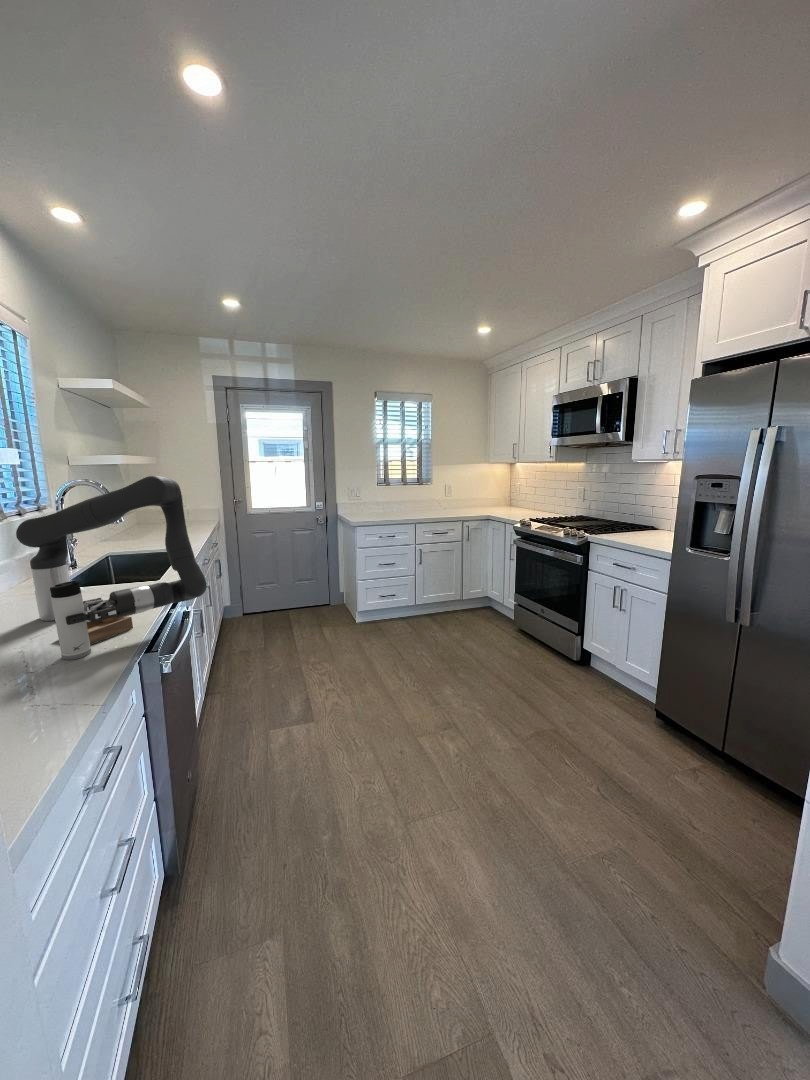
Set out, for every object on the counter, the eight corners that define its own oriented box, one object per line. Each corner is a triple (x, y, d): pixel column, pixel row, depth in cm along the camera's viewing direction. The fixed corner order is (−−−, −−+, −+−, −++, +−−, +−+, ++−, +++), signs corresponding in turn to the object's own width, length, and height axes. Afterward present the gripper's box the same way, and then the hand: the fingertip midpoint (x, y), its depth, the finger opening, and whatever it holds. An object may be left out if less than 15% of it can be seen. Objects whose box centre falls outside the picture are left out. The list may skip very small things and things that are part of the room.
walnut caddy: (59, 639, 128) (57, 627, 127) (104, 623, 140) (102, 612, 139) (89, 644, 123) (87, 632, 123) (133, 627, 135) (131, 617, 135)
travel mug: (84, 659, 114) (71, 584, 111) (56, 661, 114) (42, 586, 110) (97, 648, 121) (85, 577, 117) (71, 650, 120) (58, 579, 116)
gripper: (122, 584, 130) (53, 598, 118) (139, 593, 120) (66, 609, 108) (125, 608, 131) (57, 624, 119) (143, 619, 122) (71, 637, 110)
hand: (62, 617), depth 114 cm, fingers open, 8 cm apart
